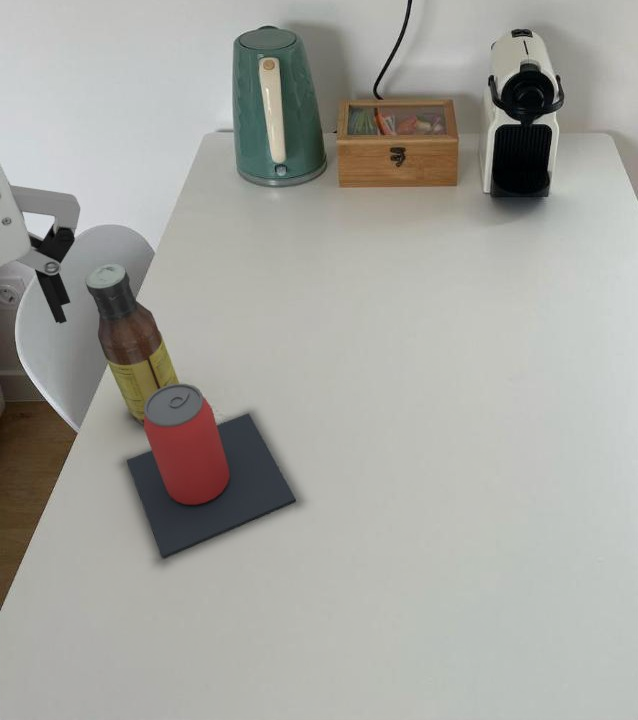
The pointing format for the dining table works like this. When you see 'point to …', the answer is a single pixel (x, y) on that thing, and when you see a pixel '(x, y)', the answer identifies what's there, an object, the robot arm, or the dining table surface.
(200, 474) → the beer can
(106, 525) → the dining table surface
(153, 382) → the sauce bottle
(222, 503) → the mat
